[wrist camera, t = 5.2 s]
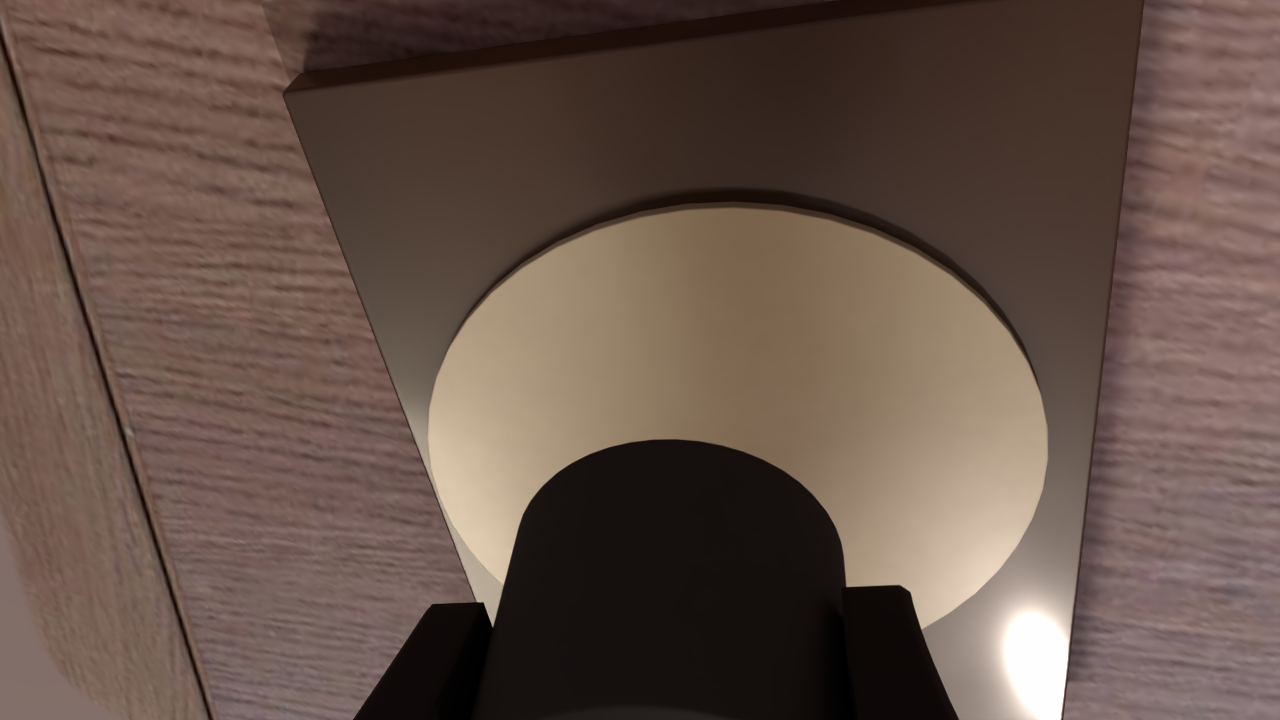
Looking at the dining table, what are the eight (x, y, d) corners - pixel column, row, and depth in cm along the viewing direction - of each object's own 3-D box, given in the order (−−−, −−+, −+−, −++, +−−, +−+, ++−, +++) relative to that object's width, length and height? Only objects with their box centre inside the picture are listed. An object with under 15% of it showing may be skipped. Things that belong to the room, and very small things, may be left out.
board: (532, 708, 25) (524, 745, 25) (298, 72, 16) (274, 97, 15) (1054, 696, 23) (1065, 735, 22) (1130, -41, 14) (1153, -18, 13)
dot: (555, 666, 14) (506, 928, 12) (482, 447, 12) (398, 708, 9) (851, 657, 14) (875, 933, 11) (833, 423, 11) (857, 698, 9)
